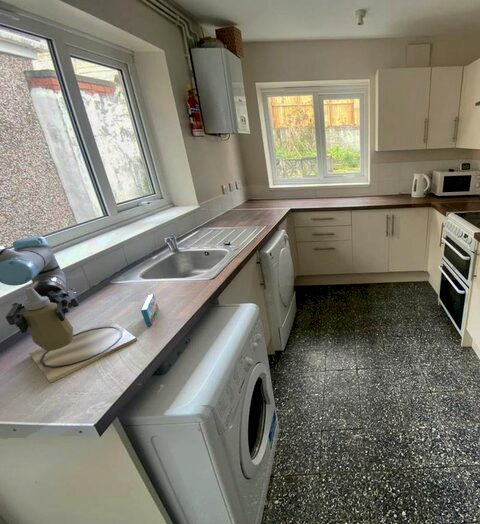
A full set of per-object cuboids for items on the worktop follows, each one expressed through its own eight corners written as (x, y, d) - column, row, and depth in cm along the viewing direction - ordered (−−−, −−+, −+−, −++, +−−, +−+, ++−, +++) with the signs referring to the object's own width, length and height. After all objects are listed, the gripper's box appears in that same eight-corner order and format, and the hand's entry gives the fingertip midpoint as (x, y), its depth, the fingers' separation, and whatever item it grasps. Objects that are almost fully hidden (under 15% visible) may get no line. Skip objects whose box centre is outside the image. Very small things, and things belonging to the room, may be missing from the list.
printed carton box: (154, 309, 105) (148, 294, 103) (158, 308, 106) (153, 293, 104) (146, 326, 95) (140, 310, 93) (152, 325, 96) (146, 309, 93)
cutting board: (30, 355, 84) (28, 352, 83) (111, 321, 99) (110, 318, 98) (50, 383, 73) (48, 379, 73) (137, 340, 88) (136, 337, 88)
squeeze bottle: (59, 353, 77) (27, 295, 70) (30, 354, 77) (-4, 296, 70) (85, 335, 85) (58, 280, 78) (59, 336, 85) (30, 281, 78)
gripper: (92, 292, 97) (95, 319, 81) (9, 314, 85) (-8, 351, 69) (83, 271, 94) (84, 295, 78) (-4, 292, 82) (-25, 326, 66)
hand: (41, 322), depth 74 cm, fingers closed on squeeze bottle, 6 cm apart
